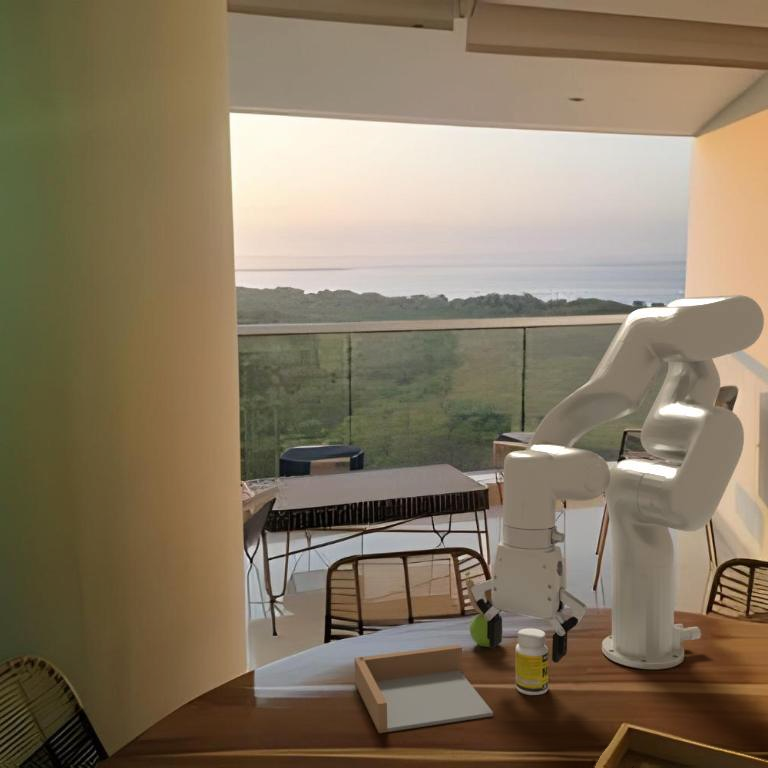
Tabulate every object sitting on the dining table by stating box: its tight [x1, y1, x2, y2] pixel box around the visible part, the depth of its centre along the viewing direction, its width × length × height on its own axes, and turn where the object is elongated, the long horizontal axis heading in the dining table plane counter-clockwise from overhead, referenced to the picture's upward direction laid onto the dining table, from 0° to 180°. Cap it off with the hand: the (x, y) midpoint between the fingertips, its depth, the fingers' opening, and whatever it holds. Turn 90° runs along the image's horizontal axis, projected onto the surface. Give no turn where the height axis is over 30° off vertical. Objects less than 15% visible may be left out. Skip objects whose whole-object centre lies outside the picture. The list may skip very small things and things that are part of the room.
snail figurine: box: [464, 571, 504, 648], centre depth 132 cm, size 5×6×12 cm
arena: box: [354, 644, 494, 734], centre depth 114 cm, size 17×15×4 cm
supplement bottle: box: [515, 627, 549, 696], centre depth 116 cm, size 5×5×8 cm
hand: (526, 651), depth 116 cm, fingers open, 9 cm apart
